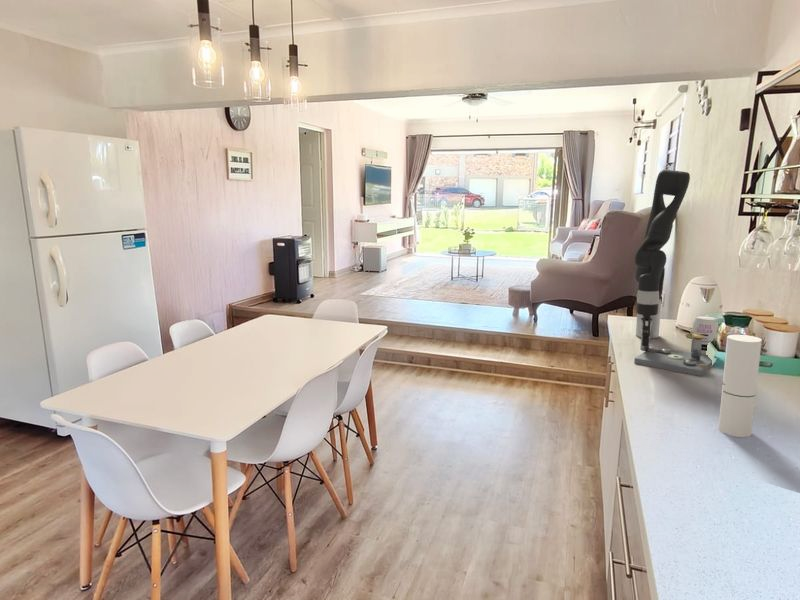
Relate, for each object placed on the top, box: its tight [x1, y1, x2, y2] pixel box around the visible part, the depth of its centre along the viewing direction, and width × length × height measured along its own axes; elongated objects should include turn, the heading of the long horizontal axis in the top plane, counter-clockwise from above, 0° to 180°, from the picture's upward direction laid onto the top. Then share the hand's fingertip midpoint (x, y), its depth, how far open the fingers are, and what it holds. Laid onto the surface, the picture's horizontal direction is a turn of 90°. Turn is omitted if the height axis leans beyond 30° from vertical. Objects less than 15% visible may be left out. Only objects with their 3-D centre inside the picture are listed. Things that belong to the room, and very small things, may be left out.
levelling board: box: [633, 346, 713, 377], centre depth 183 cm, size 20×22×2 cm
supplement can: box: [690, 315, 719, 355], centre depth 189 cm, size 8×8×15 cm
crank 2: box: [683, 334, 703, 366], centre depth 176 cm, size 11×4×9 cm, turn 135°
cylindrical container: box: [718, 334, 763, 438], centre depth 126 cm, size 7×7×25 cm
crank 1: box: [639, 331, 671, 354], centre depth 189 cm, size 11×4×9 cm, turn 66°
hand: (644, 343), depth 191 cm, fingers open, 7 cm apart
